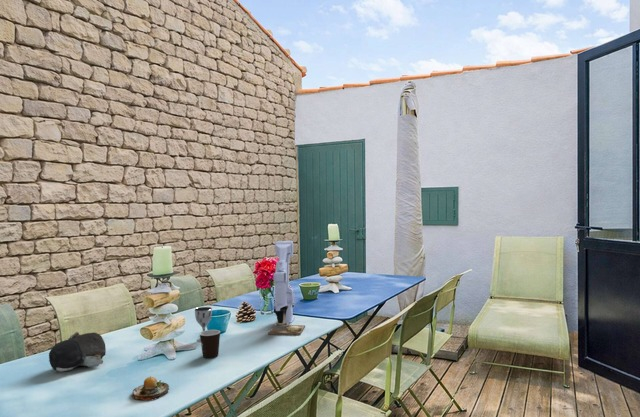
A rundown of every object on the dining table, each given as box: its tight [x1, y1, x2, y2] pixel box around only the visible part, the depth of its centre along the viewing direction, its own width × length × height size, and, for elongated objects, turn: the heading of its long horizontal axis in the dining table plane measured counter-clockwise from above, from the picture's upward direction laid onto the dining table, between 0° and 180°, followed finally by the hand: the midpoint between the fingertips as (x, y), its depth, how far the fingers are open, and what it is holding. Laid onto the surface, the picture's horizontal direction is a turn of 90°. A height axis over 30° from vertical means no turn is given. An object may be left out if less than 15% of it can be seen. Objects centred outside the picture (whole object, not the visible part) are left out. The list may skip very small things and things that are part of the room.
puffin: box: [48, 331, 107, 372], centre depth 178 cm, size 20×21×13 cm
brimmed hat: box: [131, 375, 170, 402], centre depth 151 cm, size 12×12×8 cm
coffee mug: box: [199, 329, 221, 360], centre depth 189 cm, size 12×9×10 cm
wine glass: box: [194, 306, 213, 343], centre depth 210 cm, size 8×8×15 cm
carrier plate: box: [267, 322, 306, 336], centre depth 222 cm, size 14×16×3 cm
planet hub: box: [276, 314, 285, 326], centre depth 223 cm, size 4×4×7 cm
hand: (281, 321), depth 223 cm, fingers closed on planet hub, 4 cm apart
